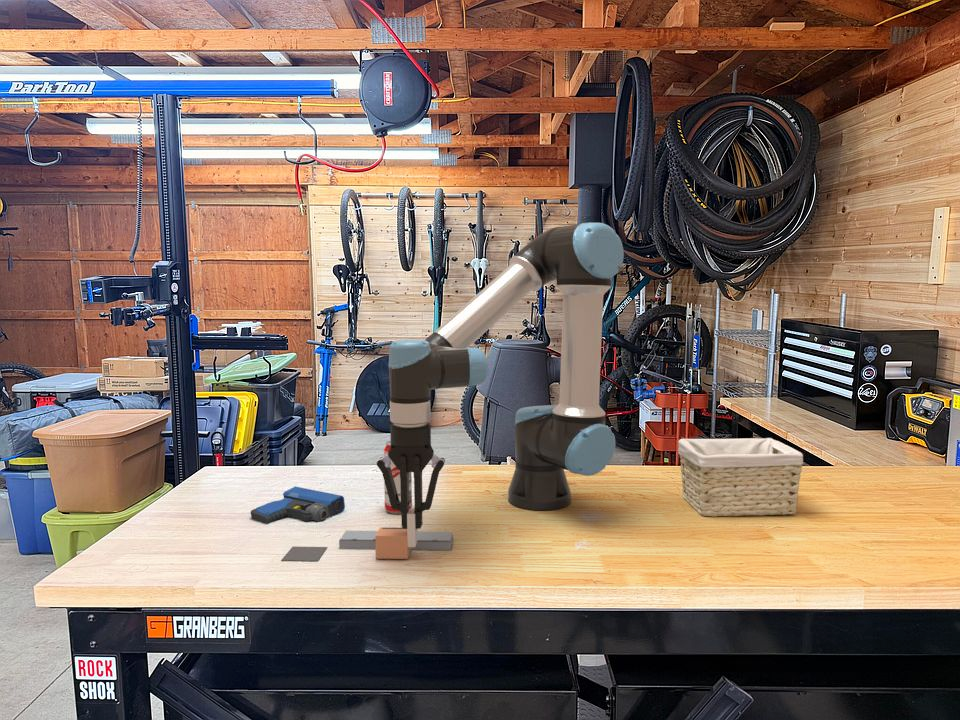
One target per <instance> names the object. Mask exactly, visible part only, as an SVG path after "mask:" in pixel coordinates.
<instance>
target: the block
mask: <svg viewBox="0 0 960 720" xmlns="http://www.w3.org/2000/svg"><path fill="white" fill-rule="evenodd" d="M377 531H378V532H377V534H376V536H375V537H376V549H375V559H380V560H381V559H395V560H399V559H400V560H403V559H405V560H408V558H409V557H410V553H411V551H412V550H411V547H408V542H407V529H403V528H402V527H393V526H392V527H391V526H389V527H385V526H384V527H383V526H381V527H379V529H377Z"/></svg>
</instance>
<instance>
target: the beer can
mask: <svg viewBox="0 0 960 720" xmlns="http://www.w3.org/2000/svg"><path fill="white" fill-rule="evenodd" d="M390 447H391V440H389V441H387V442H385V447H384V448H383V457H385V456H386V455H388V451H389V450H390ZM390 462H391V465H390V468H391V471H392V475H393V479H394V482H395V486H396V490H397V494H398V497H399V501H400V502H401V482H400V471H399V470H398V468H397V467H396V466H395V464H394V463H393V462H392V460H390ZM412 481H413V480H412V472H409V505H410V506H409V509H412V507H413V490H412V489H413V485H412V483H413V482H412ZM383 482H384V483H383V485H384V487H383V488H384V491H383V492H384V509H385V510H386V511H387V512H388V513H390V514H393V515H401V512H400V511H399V510H393V509H392V507H391V504H390V500H389V496H388V493H387V489H386V485H385V481H384V480H383Z"/></svg>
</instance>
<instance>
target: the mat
mask: <svg viewBox="0 0 960 720" xmlns="http://www.w3.org/2000/svg"><path fill="white" fill-rule="evenodd" d="M327 549H328V546H291V548H290V549H289V550H288V551H287V553H286V554H284V556H283V557H282V559H281V560H280V561H281V562H319V561H320V559H321V558H322V556H323V555H324V553H325V552H326V550H327Z"/></svg>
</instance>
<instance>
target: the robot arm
mask: <svg viewBox="0 0 960 720" xmlns="http://www.w3.org/2000/svg"><path fill="white" fill-rule="evenodd" d="M624 255H625V254H624V247H623V243H622V240H621V238H620V235H618V234H617V233H616V231H615V229H613V228H612V227H611V226H610V225H608V224H605V223H602V222H582V223H577V224H572V225H566V226H564V225H563V226H557V227H556V226H555V227H551V228H550V229H546V230H545V231H544V232H542V233H540V234H539V235H537V236H536V237H534V239H532V240H531V241H530V242H528V243H527V244H526V245H525V246H523V247H522V248H521V249H520V250H518V252H517V253H515V255H512V257H511V258H510V259H509V262H508V263H509V264H508V266H507V267H506V268H505V269H504V270H503V271H502V272H501V273H499V275H497V276H496V277H495V278H493V280H492V281H490V282H488V284H487V285H486V286H484V288H483V289H481V290H480V291H479V292H478V293H477V294H476V295H474V296H473V297H472V298H471V299H469V301H468V302H466V304H464V305H463V306H462V307H461V308H459V309H458V310H457V312H455V313H454V314H453V315H452V316H451V317H449V318H448V319H447V320H446V321H445V322H444V323H442V324H441V325H440V326H439V327H438V328H437V329H436V330H434V332H433V333H431V334H430V335H429V336H428V337H426V338H425V339H401V340H394V341H393V342H391V344H390V346H389V353H388V363H387V365H388V377H389V417H390V418H389V421H390V423H391V425H390V426H389V427H390V435H389V436H390V441H391V447H390V450H389V451H388V455H386V456H385V457H384V456H383V457H380V458H379V459H378V460H377V462H376V466H377V467H378V469H379V470H380V472H381V473H382V477H383V482H384V481H385V485H386V489H387V493H388V496H389V500H390V504H391V507H392V509H393V510H399V511H400V512H401V514H400V516H401V528H403V529H407V542H408V547H416V544H417V531H418V530H421V529H422V526H423V512H424V511H429V510H431V507H432V503H433V500H434V495H435V491H436V486H437V483H438V479H439V475H440V472H441V470H442V469H443V467H444V466H445V463H446V459H445V458H444V457H440V456H438V455H436V454H435V453H434V452H435V451H434V449H433V447H432V438H431V437H432V431H431V427H432V425H431V424H430V423H429V422H430V421H431V414H432V413H431V391H432V390H438V389H451V388H465V387H466V388H470V387H472V386H473V387H474V386H478V385H481V384H483V383H484V382H485V381H486V379H487V377H488V372H489V362H488V358H487V356H486V354H485V352H484V351H483V350H482V349H481V348H478V347H470V346H472V345H473V344H474V343H476V342H477V341H478V340H479V338H481V337H482V336H483V335H484V334H485V333H486V332H487V331H488V330H490V329H491V328H492V327H494V325H495V324H497V322H498V321H500V320H501V319H502V318H503V317H504V316H505V315H506V314H508V312H509V311H511V310H512V309H513V308H514V307H515V306H516V305H517V304H519V302H521V301H522V300H523V299H524V298H525V297H526V296H527V295H528V294H529V293H531V292H538V291H539V290H541V288H543V287H544V286H545V285H547V284H549V283H550V282H553V281H556V288H557V289H558V290H559V291H560V292H561V294H562V319H561V320H562V321H561V322H562V323H561V324H562V325H561V345H560V346H561V348H560V349H561V350H560V353H561V354H560V375H559V376H560V379H559V380H560V382H559V403H558V404H549V405H545V404H544V405H533V406H525V407H521V408H519V409H518V410H517V411H516V413H515V420H514V426H515V427H514V428H515V432H514V433H515V434H514V435H515V436H514V437H515V443H514V444H515V445H514V446H515V451H514V452H515V454H514V455H515V466H514V472H513V475H512V477H511V481H510V484H509V487H508V490H507V493H508V495H507V497H508V498H507V499H508V500H507V501H508V502H509V503H510V505H513V506H516V507H517V508H520V509H525V510H533V511H551V510H559V509H561V508H565V507H567V506H569V505H570V504H571V501H572V492H571V488H570V484H569V482H568V479H567V475H566V472H565V470H567V471H568V472H570V473H572V474H575V475H576V474H577V475H581V476H585V477H586V476H587V477H588V476H594V475H597V474H598V473H601V472H602V471H603V470H604V469H605V468H606V466H607V465H609V463H611V461H612V459H613V457H614V454H615V451H616V437H615V434H614V433H613V432H612V429H611V428H610V427H609V426H607V425H606V412H605V410H604V409H603V408H602V407H601V406H600V386H601V385H600V383H601V360H602V357H601V356H602V340H603V339H602V337H603V336H602V334H603V332H602V331H603V312H604V295H605V294H606V293H607V292H608V291H609V290H610V289H611V287H612V278H613V277H614V276H615V275H616V274H618V273H619V272H620V271H619V269H622V266H623V263H624ZM390 460H392V462H393V463H394V464H395V466H396V467H397V468H398V470H399V471H400V482H401V502H400V501H399V497H398V494H397V490H396V486H395V482H394V479H393V475H392V471H391V468H390V465H391V462H390ZM430 461H431V467H432V473H431V477H430V480H429V484H428V488H427V492H426V497H425V501H423V500H424V499H423V471H424V470H425V468H426V467H427V465H429V463H430ZM409 472H411V473H413V489H414V490H413V492H414V495H413V496H414V508H411V509H409V506H410V505H409Z"/></svg>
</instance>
